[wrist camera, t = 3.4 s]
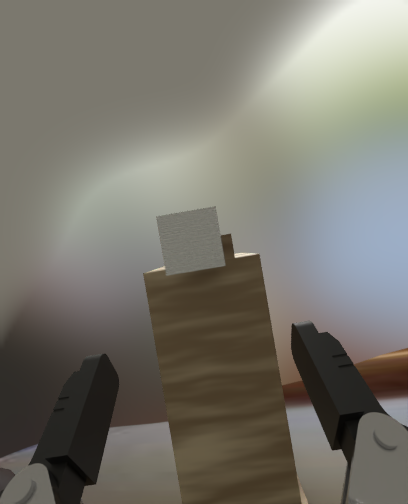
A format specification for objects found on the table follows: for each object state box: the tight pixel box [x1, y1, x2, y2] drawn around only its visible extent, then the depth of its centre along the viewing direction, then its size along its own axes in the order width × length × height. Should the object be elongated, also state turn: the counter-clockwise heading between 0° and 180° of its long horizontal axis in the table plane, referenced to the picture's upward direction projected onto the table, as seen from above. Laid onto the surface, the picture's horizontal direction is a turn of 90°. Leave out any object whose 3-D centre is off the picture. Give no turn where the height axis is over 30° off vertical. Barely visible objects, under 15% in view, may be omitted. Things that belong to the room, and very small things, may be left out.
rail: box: [156, 207, 226, 276], centre depth 30 cm, size 26×4×4 cm, turn 178°
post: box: [143, 234, 308, 504], centre depth 33 cm, size 17×15×34 cm
